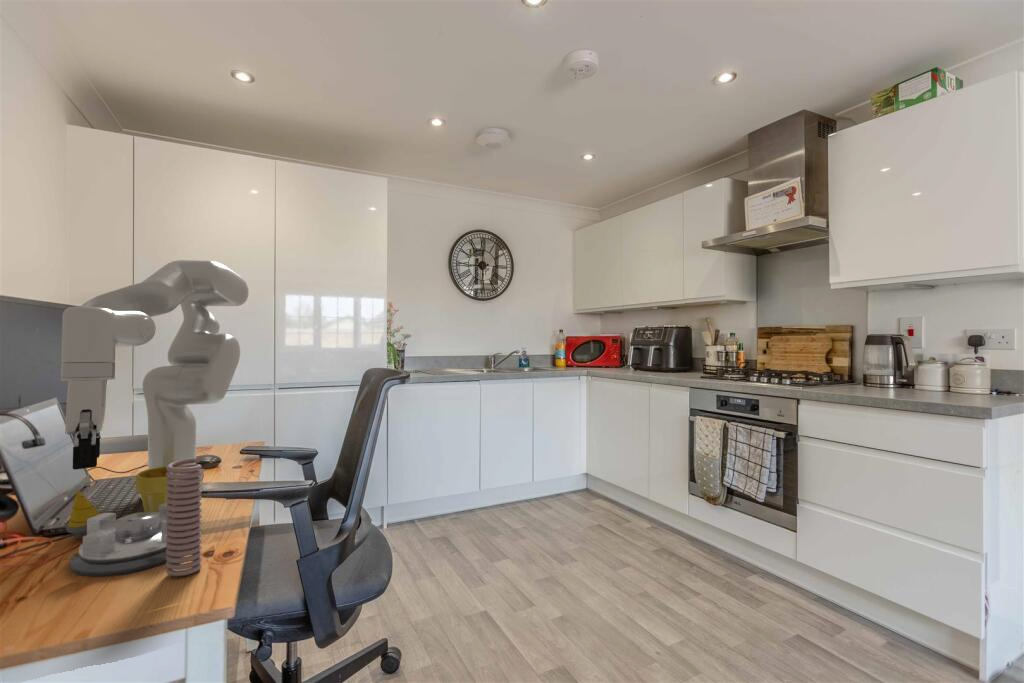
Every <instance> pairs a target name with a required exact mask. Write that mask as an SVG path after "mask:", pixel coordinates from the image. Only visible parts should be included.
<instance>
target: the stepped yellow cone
mask: <svg viewBox="0 0 1024 683" xmlns="http://www.w3.org/2000/svg"><path fill="white" fill-rule="evenodd" d="M85 496H86V495H84V494H83V493H82V491H80V490H79V489H77V490H76V494H75V498H74V501H73V505H72V509H71V512H70V517H69V519H68V522H67V523H66V524H65V529H66V530H65V531H66V532H67V533H69V534H73V535H74V539H75V540H76V539H78V540H79V539H83V536H86V535H87V519H89V518H92V517H94V516H97V515H99V514H102V513H104V512H102V511H99V510H98V509H97V508H96V507H95V506H94V505H93V503H91V501H90V500H89V499H87V497H85Z"/></svg>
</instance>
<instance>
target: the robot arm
mask: <svg viewBox="0 0 1024 683" xmlns="http://www.w3.org/2000/svg"><path fill="white" fill-rule="evenodd" d="M248 298H249V287H248V284H247V282H246V281H245V279H244V278H243V277H242V276H241V275H239V274H238V273H236V272H234V271H233V270H232V269H230V268H229V267H227V266H226V265H224V264H223V263H220V262H217V261H215V260H214V261H213V260H199V259H198V260H193V259H192V260H191V259H190V260H187V259H180V260H173V261H170V262H168V263H166V264H165V265H163V266H162V267H160V268H159V269H158V270H157V271H155V272H153V274H151V275H150V276H148V277H147V278H146V279H144V280H143V281H141V282H138V283H136V284H131V285H127V286H125V287H121V288H118V289H115V290H111V291H109V292H105V293H103V294H99V295H97V296H95V297H93V298H90V299H88V300H87V301H86V302H84V303H83V304H81V305H80V306H79V305H78V306H70V307H66V309H64V310H63V312H62V325H61V326H62V328H61V329H62V330H61V363H60V366H61V368H60V381H61V382H68V383H67V384H68V385H67V392H66V393H67V394H66V410H65V411H66V412H65V413H66V414H65V431H64V434H65V435H66V436H71V435H72V433H75V435H74V446H73V447H72V470H83V469H91V468H96V467H97V465H98V459H99V457H100V456H101V455H100V453H101V450H100V449H101V448H100V447H101V437H100V436H99V434H100V432H102V430H103V427H104V422H105V415H106V404H107V385H108V384H107V382H108V380H110V381H111V380H115V379H116V347H139V346H142V345H145V344H147V343H149V342H150V341H151V340H152V339H153V338H154V337H155V334H156V323H155V321H154V320H153V318H152V317H157V316H160V315H161V316H162V315H166V314H167V313H171V312H172V311H174V310H176V309H177V308H178V306H180V307H181V311H182V314H183V315H182V316H183V321H182V323H181V325H180V326H179V330H178V331H177V333H176V334H175V337H174V339H172V342H171V344H170V346H169V349H168V352H167V361H168V362H169V364H170V365H164V366H163V365H162V366H158V367H156V368H153V369H151V370H149V371H148V372H147V373H146V374H145V375H144V377H143V380H142V392H143V398H144V400H145V406H146V412H147V469H151V468H156V467H161V466H167V465H168V464H170V463H172V462H175V461H179V460H183V459H189V458H197V421H196V417H195V415H194V413H193V412H192V411H191V409H190V407H189V406H188V405H211V404H212V405H213V404H217V403H219V402H220V401H222V400H223V399H224V398H225V396H226V395H227V392H228V389H229V388H230V385H231V382H232V380H233V377H234V375H235V372H236V370H237V367H238V365H239V362H240V356H241V346H240V344H239V341H238V339H237V338H236V337H235V336H234V335H231V334H229V333H219V331H220V323H219V321H218V319H217V318H216V317H215V315H214V314H213V313H212V312H211V311H210V310H209V308H208V307H239V306H241V305H243V304H245V303H246V302H247V301H248ZM190 464H197V463H188V464H182V465H190ZM140 497H141V495H140V494H139V498H140Z"/></svg>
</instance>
